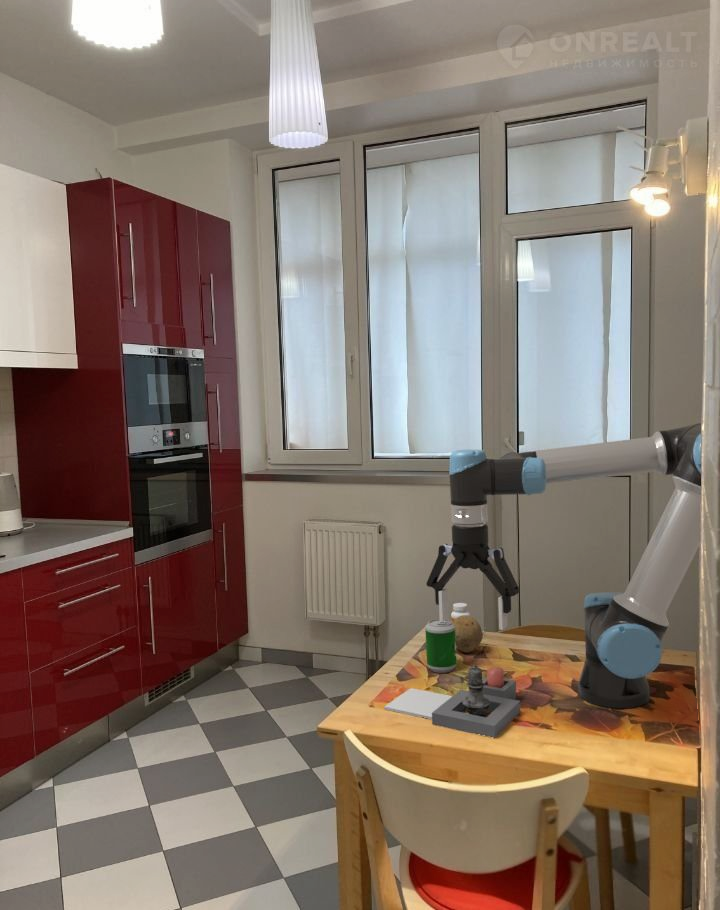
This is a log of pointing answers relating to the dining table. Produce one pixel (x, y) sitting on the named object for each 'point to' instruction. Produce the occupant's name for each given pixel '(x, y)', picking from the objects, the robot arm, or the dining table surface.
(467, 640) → the brown potato
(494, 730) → the socket housing
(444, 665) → the soda can
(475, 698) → the dark grey figurine
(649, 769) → the dining table surface
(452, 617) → the supplement bottle
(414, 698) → the grey mat
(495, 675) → the plunger
